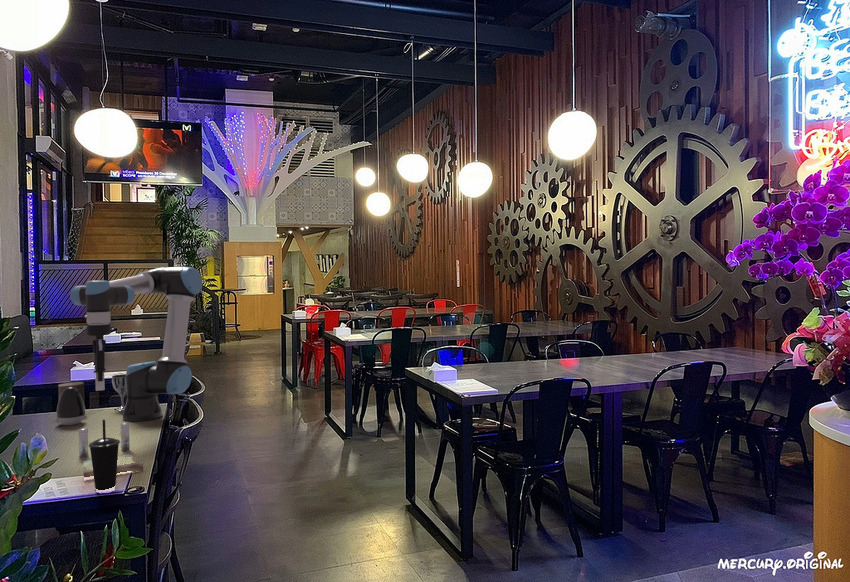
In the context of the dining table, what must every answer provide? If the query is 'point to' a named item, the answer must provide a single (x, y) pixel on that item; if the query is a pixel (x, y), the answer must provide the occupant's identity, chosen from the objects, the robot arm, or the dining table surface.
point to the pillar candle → (73, 384)
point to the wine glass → (120, 386)
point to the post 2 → (125, 437)
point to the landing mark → (91, 460)
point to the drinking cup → (104, 461)
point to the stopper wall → (120, 468)
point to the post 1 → (83, 442)
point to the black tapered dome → (70, 407)
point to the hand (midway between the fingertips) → (100, 390)
